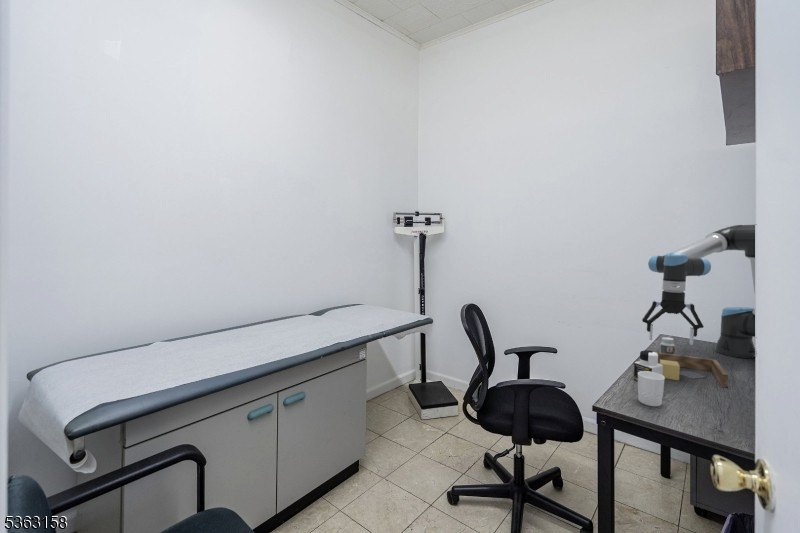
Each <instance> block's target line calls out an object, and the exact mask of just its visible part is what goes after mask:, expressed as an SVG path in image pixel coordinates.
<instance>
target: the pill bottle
mask: <svg viewBox="0 0 800 533" xmlns="http://www.w3.org/2000/svg"><path fill="white" fill-rule="evenodd" d="M674 342H675V339H674V338H673V337H666V336H663V337H661V342H660V346H659V353H667V354H675V352H676V351H675V349H676V344H675V343H674ZM675 355H676V354H675Z"/></svg>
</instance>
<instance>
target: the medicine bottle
mask: <svg viewBox="0 0 800 533" xmlns="http://www.w3.org/2000/svg"><path fill="white" fill-rule="evenodd" d="M656 352H657V351H653V350H646V349H645V350H642V351H640V352H639V360H638V361H635V362H634V366H633V379H634V378H635V380H637V381H638V372H640V371H650V372H655V373H658V374H661V375H662V374H663V365H661V364H658V354H657V353H656Z"/></svg>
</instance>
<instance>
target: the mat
mask: <svg viewBox="0 0 800 533" xmlns="http://www.w3.org/2000/svg"><path fill="white" fill-rule="evenodd" d="M679 376H682V377H685V378H689V379H691V380H698V379H703V378H706V376H705V375H702V374H699V373H696V372H693V371H691V370H683V371H680V372H679Z"/></svg>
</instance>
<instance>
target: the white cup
mask: <svg viewBox="0 0 800 533" xmlns="http://www.w3.org/2000/svg"><path fill="white" fill-rule="evenodd" d="M665 381H666V378H665V377H664V376H663V375H661V374H658V373H655V372H650V371H640V372H638V380H637V393H638V398H637V399H638V401H639V403H640V404H641V403H642V404H643V405H646V406H650V407H660V406H662V400H663V397H664V387H665Z"/></svg>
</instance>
